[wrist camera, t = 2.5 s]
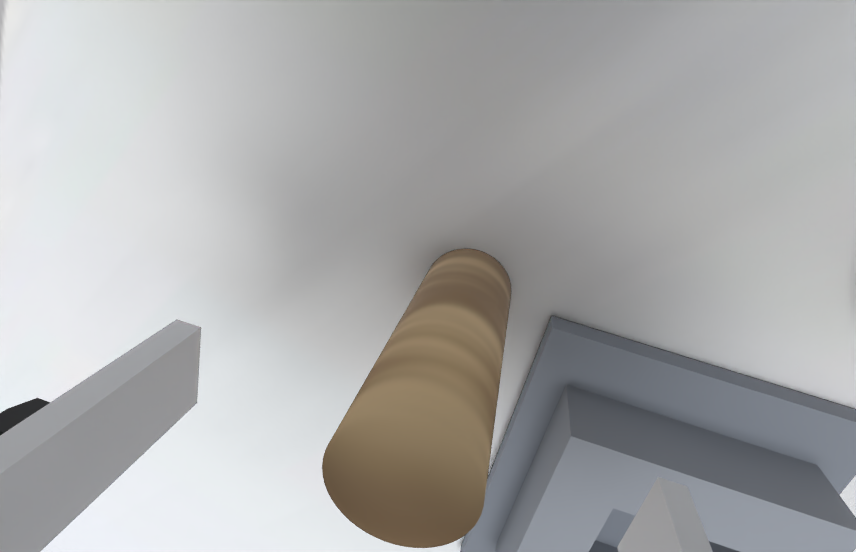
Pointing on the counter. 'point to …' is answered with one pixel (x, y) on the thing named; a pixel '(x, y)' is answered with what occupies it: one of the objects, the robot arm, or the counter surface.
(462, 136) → the counter surface
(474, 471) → the peg
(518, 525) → the socket
